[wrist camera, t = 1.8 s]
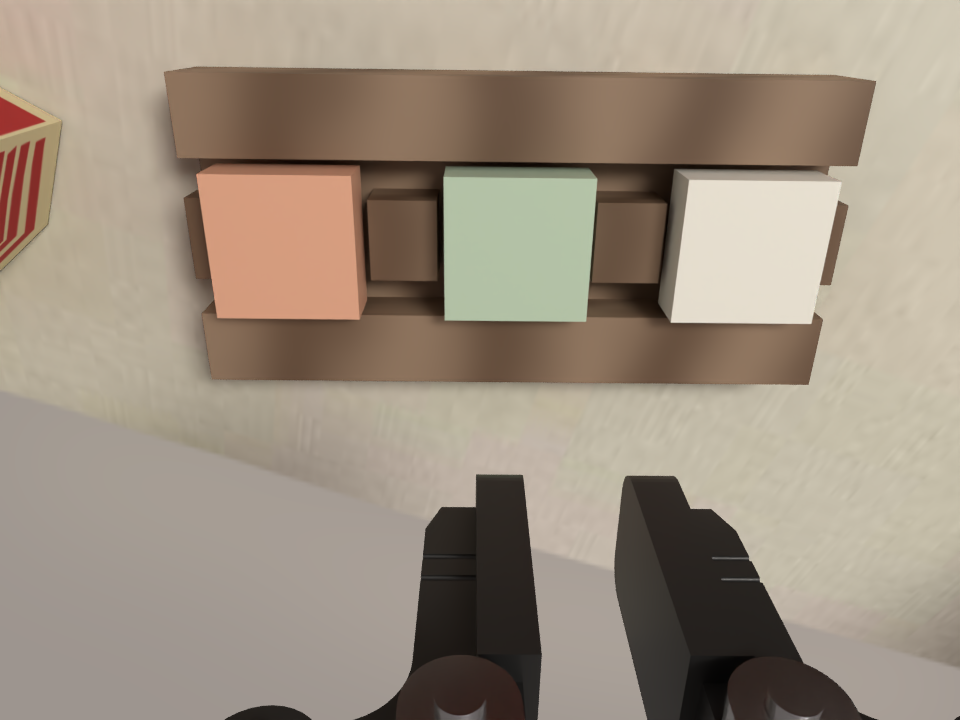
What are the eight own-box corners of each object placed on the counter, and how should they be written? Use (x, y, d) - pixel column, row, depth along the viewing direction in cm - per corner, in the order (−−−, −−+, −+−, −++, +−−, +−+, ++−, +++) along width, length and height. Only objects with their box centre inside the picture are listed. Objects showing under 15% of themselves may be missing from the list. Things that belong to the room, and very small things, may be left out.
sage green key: (588, 167, 26) (597, 178, 24) (578, 302, 28) (586, 321, 26) (445, 166, 26) (443, 176, 24) (446, 300, 28) (444, 320, 26)
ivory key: (816, 170, 26) (842, 181, 24) (789, 304, 28) (811, 323, 26) (674, 168, 26) (689, 179, 24) (658, 302, 28) (670, 322, 26)
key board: (835, 75, 27) (876, 81, 24) (779, 352, 31) (808, 384, 28) (196, 66, 26) (163, 72, 24) (235, 347, 31) (211, 379, 28)
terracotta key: (359, 165, 26) (350, 175, 24) (367, 300, 28) (359, 319, 26) (216, 163, 26) (196, 174, 24) (234, 298, 28) (217, 318, 26)
